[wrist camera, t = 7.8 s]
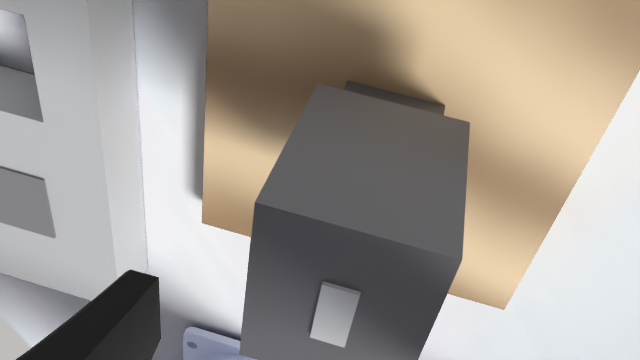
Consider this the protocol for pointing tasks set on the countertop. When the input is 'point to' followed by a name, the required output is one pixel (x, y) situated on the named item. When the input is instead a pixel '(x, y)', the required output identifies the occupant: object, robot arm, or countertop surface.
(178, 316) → the countertop surface
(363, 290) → the block
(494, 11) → the oak board
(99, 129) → the power strip
